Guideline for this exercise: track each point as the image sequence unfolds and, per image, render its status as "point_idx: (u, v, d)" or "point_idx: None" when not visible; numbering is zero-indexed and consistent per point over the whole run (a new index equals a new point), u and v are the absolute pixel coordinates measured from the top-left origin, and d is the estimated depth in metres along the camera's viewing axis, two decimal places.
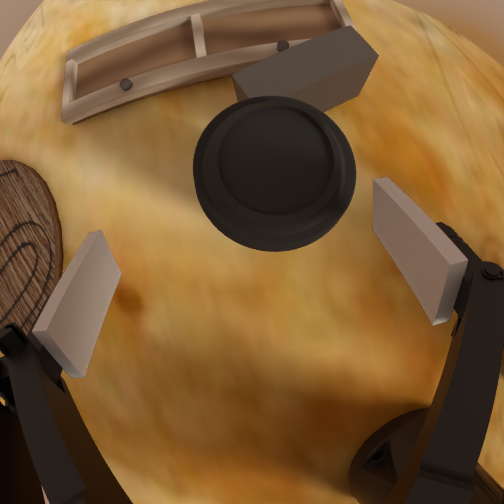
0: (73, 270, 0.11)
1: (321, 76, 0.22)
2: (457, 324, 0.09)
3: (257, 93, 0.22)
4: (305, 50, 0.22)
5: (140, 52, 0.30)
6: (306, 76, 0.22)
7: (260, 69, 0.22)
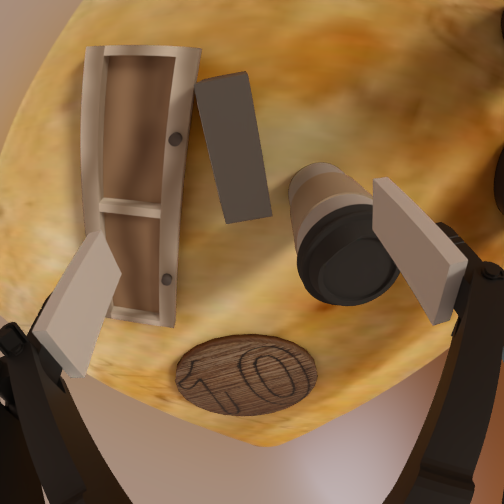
0: (73, 270, 0.11)
1: (258, 149, 0.24)
2: (457, 324, 0.09)
3: (255, 211, 0.27)
4: (220, 150, 0.24)
5: (124, 256, 0.37)
6: (253, 163, 0.24)
7: (230, 200, 0.26)
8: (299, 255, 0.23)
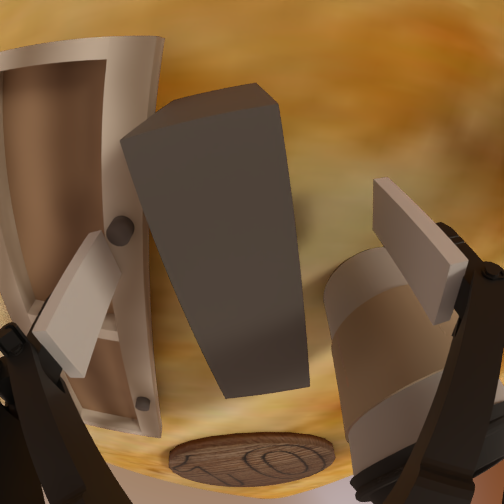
0: (73, 270, 0.11)
1: (296, 295, 0.10)
2: (457, 324, 0.09)
3: (279, 383, 0.13)
4: (205, 300, 0.10)
5: None
6: (282, 319, 0.11)
7: (232, 372, 0.13)
8: (359, 478, 0.10)
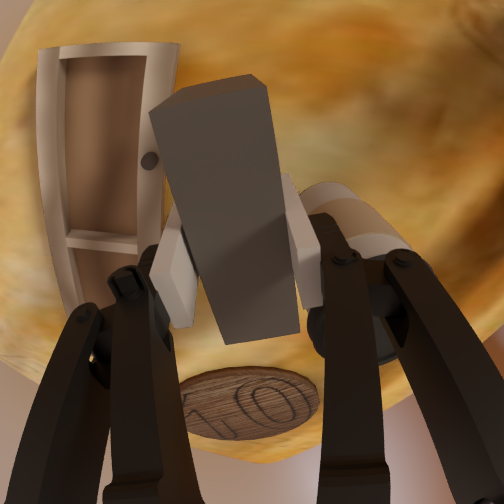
0: (177, 222, 0.13)
1: (283, 238, 0.13)
2: None
3: (273, 328, 0.16)
4: (210, 242, 0.13)
5: (101, 293, 0.31)
6: (273, 261, 0.13)
7: (231, 315, 0.15)
8: (310, 316, 0.18)
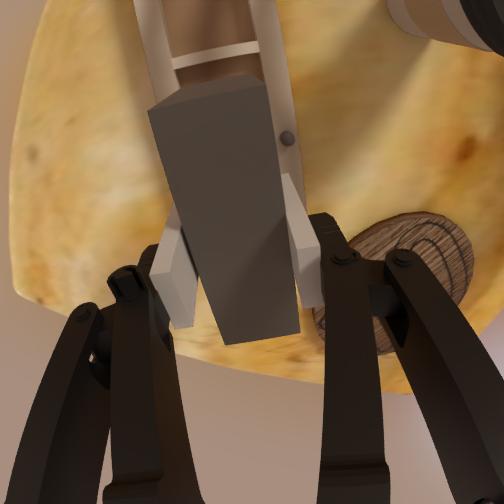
0: (177, 222, 0.13)
1: (284, 238, 0.13)
2: None
3: (273, 328, 0.16)
4: (210, 242, 0.13)
5: None
6: (273, 261, 0.13)
7: (231, 315, 0.15)
8: None
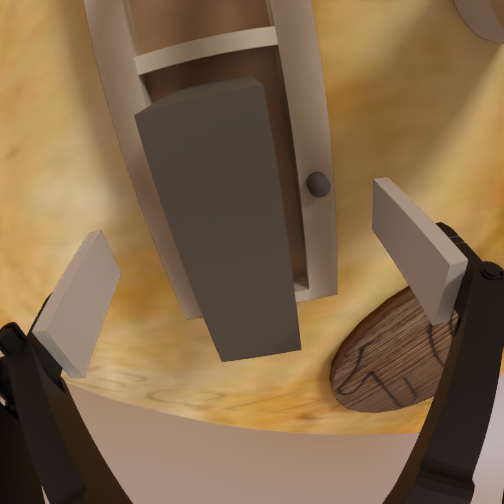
0: (73, 270, 0.11)
1: (284, 252, 0.12)
2: (457, 324, 0.09)
3: (272, 345, 0.15)
4: (204, 256, 0.12)
5: None
6: (272, 277, 0.12)
7: (228, 332, 0.14)
8: None
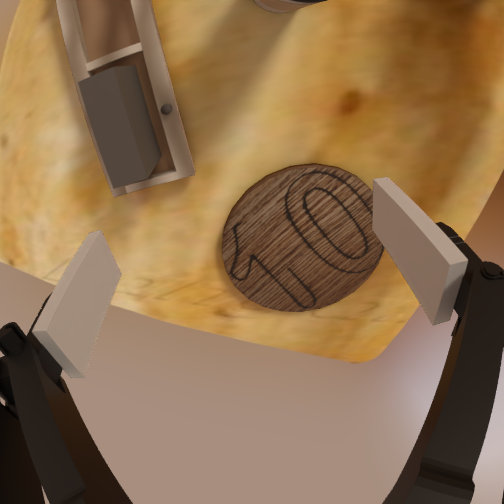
0: (73, 270, 0.11)
1: (127, 123, 0.27)
2: (457, 324, 0.09)
3: (133, 175, 0.30)
4: (100, 129, 0.27)
5: None
6: (125, 135, 0.27)
7: (113, 167, 0.29)
8: None
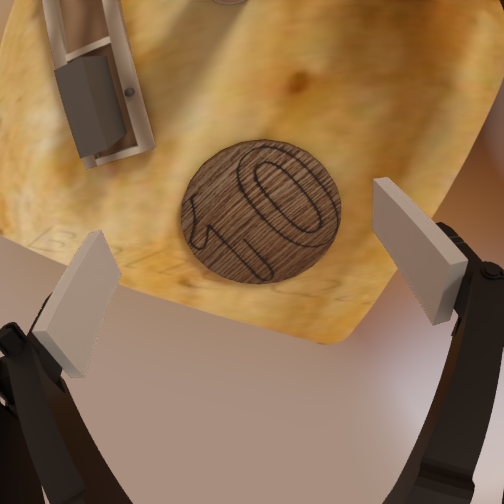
0: (73, 270, 0.11)
1: (92, 103, 0.30)
2: (457, 324, 0.09)
3: (96, 146, 0.33)
4: (70, 108, 0.30)
5: None
6: (90, 113, 0.30)
7: (80, 140, 0.32)
8: None
